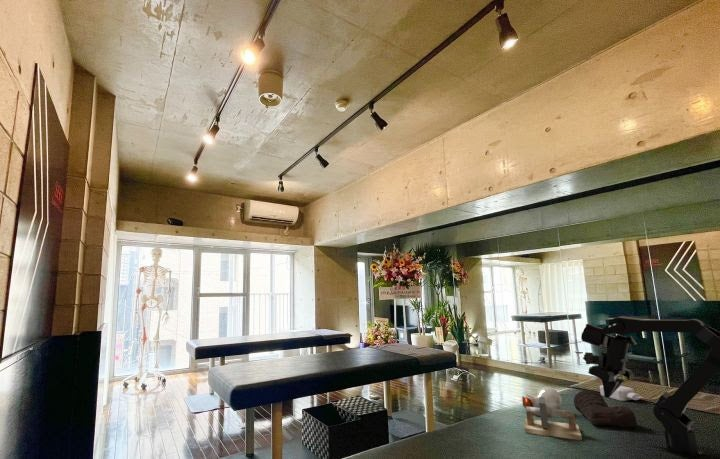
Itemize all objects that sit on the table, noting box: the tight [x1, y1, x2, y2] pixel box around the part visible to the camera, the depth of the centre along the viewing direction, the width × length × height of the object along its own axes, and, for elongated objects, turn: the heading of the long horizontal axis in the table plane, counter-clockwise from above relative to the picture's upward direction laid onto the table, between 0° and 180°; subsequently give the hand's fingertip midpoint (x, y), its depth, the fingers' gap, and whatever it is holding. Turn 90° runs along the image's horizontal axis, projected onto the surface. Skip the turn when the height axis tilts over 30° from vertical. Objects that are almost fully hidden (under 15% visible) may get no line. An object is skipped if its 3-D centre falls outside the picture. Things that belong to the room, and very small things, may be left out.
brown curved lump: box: [573, 389, 638, 429], centre depth 128 cm, size 10×15×15 cm
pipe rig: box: [524, 407, 583, 441], centre depth 121 cm, size 17×10×7 cm, turn 64°
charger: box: [599, 384, 644, 402], centre depth 153 cm, size 5×9×15 cm
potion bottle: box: [522, 386, 563, 410], centre depth 141 cm, size 9×10×15 cm
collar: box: [539, 397, 548, 428], centre depth 122 cm, size 2×8×8 cm, turn 153°
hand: (606, 397), depth 117 cm, fingers closed
